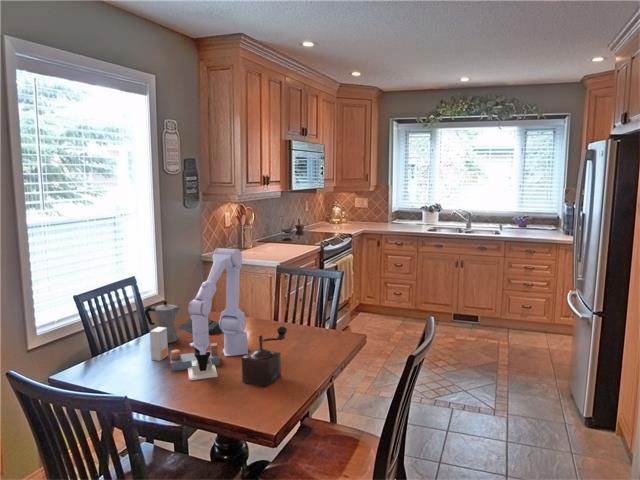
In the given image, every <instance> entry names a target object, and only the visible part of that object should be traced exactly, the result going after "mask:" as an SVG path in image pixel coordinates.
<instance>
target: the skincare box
mask: <svg viewBox="0 0 640 480" xmlns="http://www.w3.org/2000/svg"><path fill="white" fill-rule="evenodd" d="M149 337H150V338H149V340H150V342H149V343H150V358H151V359H150V360H151V361H157V362H158V361H160V362H161V361H162V360H163V359H165V358H166V357H168V356H169V352H168V351H169V350H168V343H167V328H166V327H158V326H157V327H155V328H153V329H152V330H150V331H149Z"/></svg>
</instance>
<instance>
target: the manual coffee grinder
mask: <svg viewBox="0 0 640 480" xmlns="http://www.w3.org/2000/svg"><path fill="white" fill-rule="evenodd" d="M276 332H277V333H278V336H277V337H274V338H273V337H269V338H263V335H258V342H259V348H256V349H254V350H253V351H251V352H248V354H244V356H242V357H241V368H242V369H241V370H242V371H241V372H242V376H241V377H242V383H244V384H248V385H251V386H252V385H253V386H256V387H257V386H258V387H261V388H267V387H270V386H271V385H272V384H274V383H276V382H277V381H278V380H279V379H280V378H281V377H282V374H281V373H282V368H281V367H282V365H281V364H282V362H281V358H282V357H281V355H282V353H281V352H279V351H274V350H269V349H267V348H263V343H265V342H269V341H282V340H285V339H286V334H287V333H288V328H287V327H286V326H283V325H282V326H279V327H277V329H276Z"/></svg>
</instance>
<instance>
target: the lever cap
mask: <svg viewBox="0 0 640 480" xmlns="http://www.w3.org/2000/svg"><path fill="white" fill-rule="evenodd" d="M191 362H192V374H193V375H198V374H205V373H212V362H211V359H210V358H208V362H207V368H206V371H200V369H199V365H198V361H197V360H195V361H191Z"/></svg>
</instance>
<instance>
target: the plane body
mask: <svg viewBox="0 0 640 480" xmlns="http://www.w3.org/2000/svg"><path fill="white" fill-rule="evenodd" d="M209 346H210V350H206V352H210V353H211V354H210V356H209V358H210V359H211V362H212V365H213V364H215V366H219V365H221V364H220V356H219V353H218V343H217V342H214V343H213V342H210V344H209ZM194 353H195V352H190V353H182V354H181V350H180V349H172V350H171V351H170V357H169V359H170V371H171V372H172V371H182V370H188V368H190V367H192V362H191V361H195V360H197V359H196V357H195V355H194Z"/></svg>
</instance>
